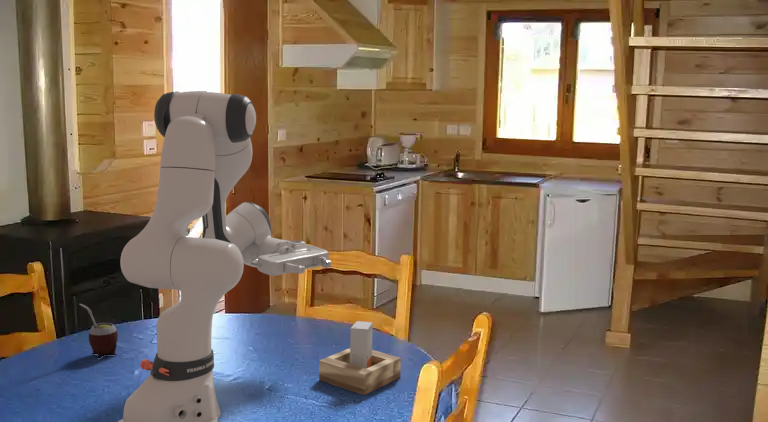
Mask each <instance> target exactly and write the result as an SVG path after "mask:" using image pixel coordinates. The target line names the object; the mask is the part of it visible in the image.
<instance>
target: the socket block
mask: <svg viewBox="0 0 768 422" xmlns="http://www.w3.org/2000/svg"><path fill="white" fill-rule="evenodd" d="M389 354H390V353H384V352H382V351H378V350H374V349H372V366H371V367H369V368H367V369H365V368H362V367H358V366H355V365H352V364H350V347H349V348H346V349H344V350H341V351H339V352H336V353H334V354H332V355H329V356H326V357H325V358H322V359H319V360H318V363H319V364H318V374H319V375H318V380H319V381H321V382H324V383H327V384H329V385H332V386H335V387H339V388H341V389H345V390H346V391H350V392H353V393H356V394H359V395H362V396H366V395H368V394H370V393H371V392H373V391H376V390H378V389H380V388H382V387H384V386H387V385H388V384H390V383H391V382H394V381H397V380H398V379H400V378H401V367H402V366H401V361H402V358H401V357H399V356H396V355H392V354H391V355H389Z"/></svg>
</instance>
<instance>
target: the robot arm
mask: <svg viewBox="0 0 768 422" xmlns="http://www.w3.org/2000/svg"><path fill="white" fill-rule="evenodd" d="M153 114H154V115H153V118H154V124H155V127H156V129H157V131H158V133H160V135H161V136H162V137H163V142H162V147H161V149H162V150H161V153H160V154H161V155H160V164H159V176H158V177H159V178H158V189H157V196H156V198H157V199H156V203H155V207H154V210H153V213H152V215H151V217H150V219H149V220H148V223H147V224H146V225H145V226H144V227H143V229H142V230H140V232H139V233H138V234H137V235H135V236H134V237H133V238H131V239H130V240H129V241H128V242H127V243H126V244H125V245H124V247H123V249H122V252H121V254H120V255H121V256H120V260H119V261H120V262H119V263H120V269H121V273H122V275H123V276H124V278H125V280H127V282H129V283H131V284H135V285H138V286H141V287H146V288H148V289H160V290H161V289H162V290H163V289H165V290H178V291H180V301H179V303H176V304H174V305H172V306H170V307H168V308H166V309H165V310H164V311H162V312H161V313H160V315H158V318H157V321H156V323H155V324H156V327H155V328H156V349H157V351H156V352H157V353H156V354H155V357H154V359H153V361H151V360H149V359H147V358H146V359H145V358H144V359H142V360H141V362H140V364H139V366H140V368H141V369H142V370H145V371H150V373H149V374H150V375H148V377H147V378H145V380H144V381H143V382H142V383H141V384H140V385H139V386H138V387H137V388H136V389H135V391H133V392H132V393H131V395H130V396H128V398H127V399H126V400H125V403H124V407H123V413H122V419H120V420H118V421H117V422H218V420H219V418H220V417H221V413H222V411H221V408H220V405H219V402H218V399H217V394H216V390H215V389H216V388H215V382H214V375H213V372H214V371H213V369H214V368H215V356H214V354H215V353H214V350H213V348H212V332H213V331H212V328H213V316H214V313H215V310H216V307H217V305H218V304H219V302H220V301H221V299H222V298H223V297H224V296H225V294H227V293H228V292H229V291H230V290H232V289H233V288H234V287H236V285H238V283H239V282H240V280H241V279H242V275H243V273H244V267H245V265H246V266H249V267H253V268H257V270H258V271H259V272H261V273H262V274H266V275H267V276H268V275H269V276H274V277H275V276H280V275H284V274H285V275H286V274H291V273H292V274H299V275H301V274H305V272H306V271H305V270H309V269H313V268H314V269H315V268H319V267H322V268H323V269H324V268H325V269H329V268H331V267H332V261H331V260H330V254H329V252H328V250H326V249H325V248H321V247H318V246H314V245H311V244H307V243H306V242H305V241H303V240H287V239H283V238H282V239H281V238H280V239H279V238H275V237H272V226H271V220H270V217H269V214H268V213H267V211H266V210H265V208H263V207H262V206H260V205H258V204H257V203H254V202H249V201H244V202H242V203H240V204H239V205H238V206H236V207H235V208H233V210H232V211H230V212H229V213H228V214H226V201H227V199H228V196H229V195H230V193H231V191H232V190H233V188H234V187H235V186H236V185H237V183H238V182H239V180H241V178H242V177H243V176H244V175H245V174H246V173H247V171H248V170H249V168H250V166H252V165H251V164H252V160H253V144H252V140H251V137H252V136H253V135H254V132H255V128H256V124H257V113H256V108H255V105H254V103H253V101H251V100H250V99H249V97H248V96H245V95H242V94H238V93H232V94H231V93H230V94H228V93H222V92H213V91H211V92H210V91H206V90H195V91H194V90H193V91H182V92H180V91H176V90H175V91H170V92H166V93H164V94H162V95H161V96H160V97H159V98H158V99H157V101H156V102H155V106H154V113H153ZM200 218H202V219H201V220H202V233H201V234H202V236H201V237H192V236H189V237H188V236H186V235H187V230H188V228H189V227H190V224H191V223H192V222H193V221H196V220H199V219H200Z"/></svg>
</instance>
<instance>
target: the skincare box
mask: <svg viewBox="0 0 768 422" xmlns="http://www.w3.org/2000/svg"><path fill="white" fill-rule="evenodd" d="M373 325H374V323H373V322H370V321H359V320H356V321H355V322H354V323H353V324H352V326H351V327H350V331H349V332H350V333H349V335H350V339H349V340H350V341H349V343H350V344H349V348H350V364H352V365H355V366H358V367H362V368H365V369H367V368H369V367H371V366H372V350H373V328H374V327H373Z"/></svg>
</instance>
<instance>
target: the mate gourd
mask: <svg viewBox="0 0 768 422" xmlns="http://www.w3.org/2000/svg"><path fill="white" fill-rule="evenodd" d="M78 304H79V305H80V306H81V307H82V308H85V310H87V313H88V314H89V316H90V318H91V320H92V322H93V325H92V326H91V327H90V328H89V329H90V330H89V333H88V342H89V345H90V347H91V349H92V352H91V355H92V354H98V357H97V358H101V357H102V356H104V355H116V356H117V353H116V350H117V343H118V336H119V334H118V330H117V328H116V325H114V324H113V323H110V322H100V323H96V320H95V318H94V316H93V312H92V310H91V309H90V307H88V306H87V305H85V304H82V303H78ZM104 357H105V356H104Z"/></svg>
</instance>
